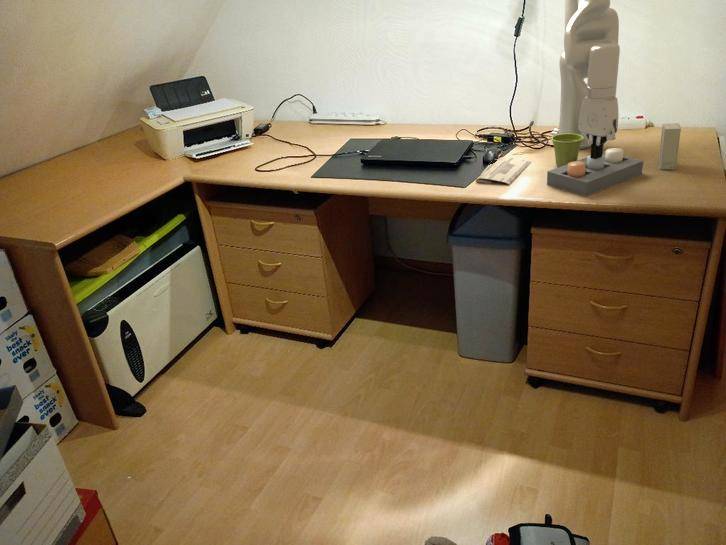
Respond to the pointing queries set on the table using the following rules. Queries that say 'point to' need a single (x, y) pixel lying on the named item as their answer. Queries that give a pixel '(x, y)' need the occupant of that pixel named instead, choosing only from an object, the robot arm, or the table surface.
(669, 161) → the skincare box
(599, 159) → the pale blue egg
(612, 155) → the cream white egg
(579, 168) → the light brown oval
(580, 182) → the grey egg holder
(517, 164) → the newspaper
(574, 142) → the plant pot
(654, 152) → the table surface
